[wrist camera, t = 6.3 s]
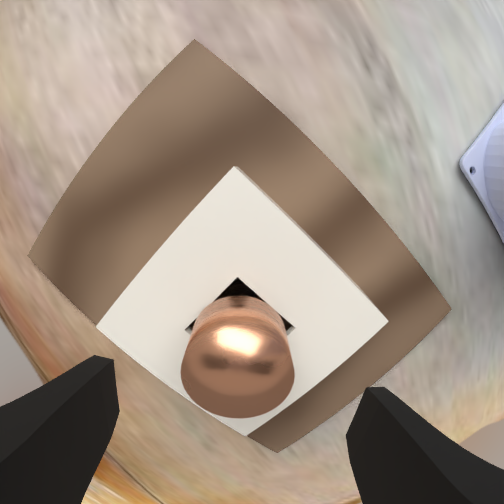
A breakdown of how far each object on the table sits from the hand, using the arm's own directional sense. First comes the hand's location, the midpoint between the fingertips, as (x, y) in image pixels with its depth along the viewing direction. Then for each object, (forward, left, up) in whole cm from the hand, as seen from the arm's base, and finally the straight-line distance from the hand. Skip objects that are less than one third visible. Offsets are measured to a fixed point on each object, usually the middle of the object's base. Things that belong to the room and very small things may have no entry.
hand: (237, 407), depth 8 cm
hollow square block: (0, 0, -10) cm, 10 cm away
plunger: (0, 0, -9) cm, 9 cm away
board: (0, 0, -10) cm, 10 cm away
